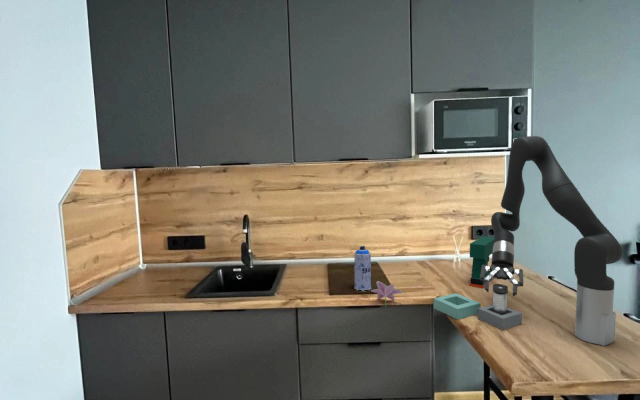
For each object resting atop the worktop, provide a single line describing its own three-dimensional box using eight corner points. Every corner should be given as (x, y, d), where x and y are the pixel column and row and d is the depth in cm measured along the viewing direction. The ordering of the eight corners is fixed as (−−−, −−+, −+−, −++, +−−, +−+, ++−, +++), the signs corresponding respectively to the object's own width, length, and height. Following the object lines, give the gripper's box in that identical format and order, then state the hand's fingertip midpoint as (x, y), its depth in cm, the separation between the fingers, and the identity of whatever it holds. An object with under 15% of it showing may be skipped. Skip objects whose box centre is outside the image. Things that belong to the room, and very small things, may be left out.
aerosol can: (360, 292, 156) (360, 248, 155) (351, 287, 163) (350, 245, 162) (374, 289, 160) (374, 246, 158) (364, 284, 167) (364, 243, 165)
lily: (407, 307, 141) (405, 283, 145) (391, 304, 133) (389, 279, 137) (382, 309, 149) (380, 287, 153) (366, 306, 141) (365, 282, 145)
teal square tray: (480, 313, 132) (480, 303, 131) (457, 319, 127) (457, 309, 126) (455, 302, 142) (455, 293, 142) (433, 308, 137) (433, 298, 137)
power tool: (485, 269, 187) (486, 233, 186) (499, 271, 183) (500, 234, 181) (467, 285, 163) (468, 243, 161) (483, 288, 158) (484, 245, 157)
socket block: (521, 323, 122) (522, 312, 122) (502, 329, 118) (503, 318, 118) (496, 313, 131) (496, 303, 131) (477, 318, 127) (478, 308, 126)
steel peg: (510, 322, 123) (511, 287, 122) (500, 325, 121) (501, 289, 120) (497, 317, 128) (498, 283, 127) (489, 320, 126) (489, 285, 125)
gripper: (482, 248, 136) (478, 285, 127) (524, 251, 129) (523, 291, 120) (483, 258, 141) (479, 294, 132) (523, 262, 134) (522, 301, 125)
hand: (500, 293), depth 126 cm, fingers open, 8 cm apart
